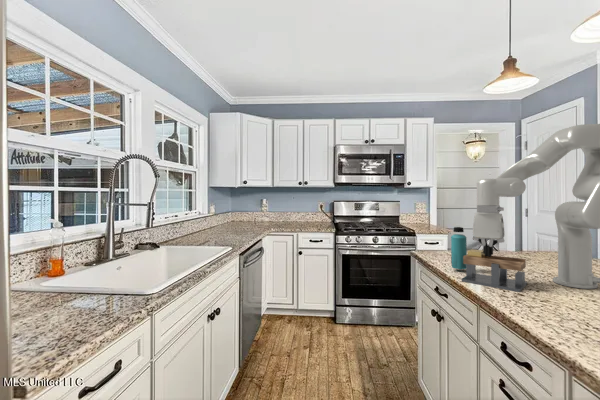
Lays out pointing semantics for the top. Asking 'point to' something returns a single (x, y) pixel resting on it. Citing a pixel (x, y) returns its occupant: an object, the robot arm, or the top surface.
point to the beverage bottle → (458, 249)
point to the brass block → (476, 253)
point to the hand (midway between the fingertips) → (488, 255)
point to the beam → (503, 261)
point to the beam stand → (495, 278)
